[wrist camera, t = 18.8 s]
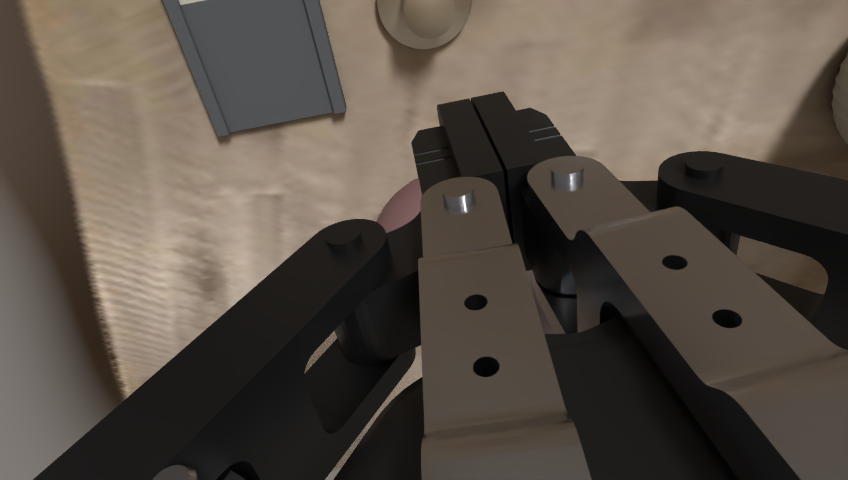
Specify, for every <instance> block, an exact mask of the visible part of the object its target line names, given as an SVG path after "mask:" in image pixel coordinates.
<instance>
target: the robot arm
mask: <svg viewBox="0 0 848 480" xmlns="http://www.w3.org/2000/svg"><path fill="white" fill-rule="evenodd" d="M437 111H438V118H439V124H440V126H439V127H434V128H429V129H424V130H419V131H418V132H417V134H416V136H415V137H414V139H413V141H412V142H411V143H412V148H413V153H414V158H415V163H416V168H417V173H418V178H419V183H420V188H421V193H422V198H421V202H420V205H421V211H420V212H419V214H418V215H417V216H416V217H415V218H414V219H413V220H411V221H410V222H409V223H407V224H405V225H404V226H402V227H399V228H397V229H395V230H393V231H390V232H388V233H386V231H385V229H384V228H383V226H381V225H380V224H379V223H377V222H375V221H371V220H366V219H352V220H346V221H342V222H338V223H335V224H332V225H330V226H328V227H326V228H324V229H323V230H321V231H319V232H318V233H317V234H315V235H314V236H313V237H312V238H311V239H310V240H308V241H307V242H306V243H305V244H304V245H303V246H302V247H300V248H299V249H298V250H297V251H296V252H295V253H294V254H292V255H291V256H290V257H289V258H288V259H287V260H285V261H284V262H283V263H282V264H281V265H280V266H279V267H277V268H276V269H275V270H274V271H273V272H272V273H270V274H269V275H268V276H267V277H266V278H265V279H264V280H262V281H261V282H260V283H259V284H258V285H257V286H256V287H254V288H253V289H252V290H251V291H250V292H249V293H247V294H246V295H245V296H244V297H243V298H242V299H241V300H239V301H238V302H237V303H236V304H235V305H234V306H232V307H231V308H230V309H229V310H228V311H227V312H226V313H224V314H223V315H222V316H221V317H220V318H219V319H218V320H216V321H215V322H214V323H213V324H212V325H211V326H209V327H208V328H207V329H206V330H205V331H204V332H203V333H201V334H200V335H199V336H198V337H197V338H196V339H194V340H193V341H192V342H191V343H190V344H189V345H188V346H186V347H185V348H184V349H183V350H182V351H181V352H180V353H178V354H177V355H176V356H175V357H174V358H173V359H171V360H170V361H169V362H168V363H167V364H166V365H165V366H163V367H162V368H161V369H160V370H159V371H158V372H156V373H155V374H154V375H153V376H152V377H151V378H150V379H148V380H147V381H146V382H145V383H144V384H143V385H142V386H140V387H139V388H138V389H137V390H136V391H135V392H133V393H132V394H131V395H130V396H129V397H128V398H127V399H125V400H124V401H123V402H122V403H121V404H120V405H119V406H117V407H116V408H115V409H114V410H113V411H112V412H110V413H109V414H108V415H107V416H106V417H105V418H104V419H103V420H101V421H100V422H99V423H98V424H97V425H95V426H94V427H93V428H92V429H91V430H90V431H89V432H87V433H86V434H85V435H84V436H83V437H82V438H81V439H79V440H78V441H77V442H76V443H75V444H74V445H72V446H71V447H70V448H69V449H68V450H67V451H66V452H64V453H63V454H62V455H61V456H60V457H59V458H57V460H55V461H54V462H53V463H52V464H51V465H49V466H48V467H47V468H46V469H45V470H44V471H42V472H41V473H40V474H39V475H38V476H37V477H36V478H34V479H33V480H325V479H326V477H327V476H328V475H329V473H330V472H331V471H332V469H333V468H334V467H335V466H336V464H337V463H338V462H339V460H340V459H341V458H342V456H343V455H344V454H345V452H346V451H347V450H348V448H349V447H350V446H351V444H352V443H353V442H354V441H355V439H356V438H357V437H358V435H359V434H360V433H361V431H362V430H363V429H364V427H365V426H366V425H367V423H368V422H369V421H370V419H371V418H372V417H373V415H374V414H375V413H376V412H377V410H378V409H379V408H380V406H381V405H382V404H383V402H384V401H385V400H386V398H387V397H388V396H389V394H390V393H391V392H392V390H393V389H394V388H395V387H396V385H397V384H398V383H399V381H400V380H401V379H402V377H403V376H404V375H405V373H406V372H407V371H408V369H409V368H410V367H411V365H412V364H413V361H414V359H415V354H416V351H415V347H418V346H420V345H421V351H422V376H423V377H422V378H420V379H418V380H417V381H415V382H414V383H413V384H411V385H410V386H408V387H407V388H405V389H404V390H403V391H402V392H401V393H400V394H398V395H397V396H396V397H395V398H394V399H393V400H392V401H391V402H390V403H389V404H388V405H387V406H386V407H385V408H384V410H383V411H382V412H381V413H380V414H379V416H378V417H377V418H376V420H375V421H374V423H373V424H372V426H371V427H370V428H369V430H368V431H367V433H366V434H365V435H364V437H363V438H362V440H361V441H360V443H359V444H358V445H357V447H356V448H355V450H354V451H353V453H352V454H351V455H350V457H349V458H348V460H347V461H346V463H345V464H344V465H343V467H342V468H341V470H340V471H339V473H338V474H337V476H336V477H335V479H334V480H848V181H847V180H843V179H838V178H834V177H829V176H824V175H820V174H815V173H810V172H806V171H801V170H797V169H792V168H787V167H783V166H778V165H773V164H769V163H764V162H760V161H755V160H750V159H746V158H741V157H736V156H732V155H727V154H722V153H717V152H708V151H696V152H687V153H682V154H678V155H675V156H672V157H670V158H668V159H666V160H665V161H664V162H663V163H662V164H661V165H660V167H659V171H658V181H619V180H618V179H617V178H616V177H615V176H614V175H613V174H612V173H611V172H610V171H609V170H608V169H607V168H606V167H605V166H604V165H603V164H601V163H600V162H598V161H596V160H594V159H591V158H587V157H581V156H576V155H575V153H574V152H573V151H572V149H571V148H570V146H569V145H568V144H567V142H566V141H565V140H564V138H563V137H562V136H560V133H559V132H558V130H557V129H556V127H554V125H553V123H552V122H551V121H550V119H549V118H548V117H547V115H545V114H543V113H541V112H539V111H537V110H534V109H532V108H527V109H522V110H517V111H516V110H515V109H514V107H513V105H512V104H511V102H510V101H509V99H508V97H507V96H506V94H505V93H504V92H498V93H493V94H488V95H483V96H478V97H473V98H471V101H470V99H464V100H459V101H454V102H449V103H444V104H439V105H437ZM740 235H741V236H744V237H747V238H751V239H754V240H757V241H761V242H764V243H767V244H771V245H774V246H777V247H781V248H784V249H787V250H791V251H794V252H797V253H801V254H804V255H807V256H810V257H812V258H813V259H815V260H817V261H818V262H819V263H820V264H821V265H822V266H823V267H824V268H825V270H826V272H827V274H828V285H827V288H826V291H825V294H817V293H814V292H811V291H808V290H805V289H802V288H799V287H796V286H793V285H790V284H787V283H784V282H781V281H778V280H775V279H772V278H769V277H766V276H763V275H760V274H757V273H755V272H754V271H752V270H751V269H750V268H749V267H748V266H747V265H746V264H745V263H744V262H743V261H741V260H740V259H739V258H738V257H737V256H736V255H737V249H738V244H739V238H740ZM334 330H335V333H336V336H337V339H336V340H335V341H334V342H333V343H332V345H331V346H330V347H329V348H328V349H327V350H326V351H325V352H324V353H323V354H322V355H321V357H320V358H319V359H318V360H317V361H316V362H315V363H314V364H313V365H312V366H311V367H310V369H309V370H308V371H307V372H306V373H305V374H304V372H305V368H306V365H307V362H308V360H309V358H310V357H311V355H312V354H313V353H314V352H315V350H316V349H317V348H318V347H319V346H320V345H321V344H322V343H323V342H324V341H325V340H326V339H327V338H328V337H329V335H330V334H331V333H332V332H333V331H334Z"/></svg>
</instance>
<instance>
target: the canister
mask: <svg viewBox="0 0 848 480" xmlns="http://www.w3.org/2000/svg"><path fill="white" fill-rule="evenodd" d="M835 80H836V82H835V86H834V88H833V90H832V93H833V99H832V102H831V103H832V108H833V118H834V121H835V123H836V127H837V130H838V132H839V133H840V135H841V136H842V137H843V139H844V141H845V143H846V144H847V145H848V52H847V55H846V58H845V59H844V61H843V62H842V63H841V65H840V71H839V73H838V75H837V76H836V78H835Z"/></svg>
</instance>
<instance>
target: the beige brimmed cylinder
mask: <svg viewBox="0 0 848 480" xmlns="http://www.w3.org/2000/svg"><path fill="white" fill-rule="evenodd" d="M471 2H472V0H377V7H378V12H379V16H380V19H381V21H382V23H383V25H384V27H385V29H386V30H387V31H388V33H389V34H390V35H391V36H392V37H393V38H394V39H396V40H397V41H398V42H400V43H401V44H403V45H405V46H408V47H411V48H414V49H432V48H436V47H439V46H442V45H444V44H446V43H447V42H449V41H450V40H452V39H453V38H454V37H455V36H456V35H457V34H458V33H459V32H460V31H461V29H462V28H463V26H464V25H465V23H466V21H467V19H468V16H469V13H470V9H471Z"/></svg>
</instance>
